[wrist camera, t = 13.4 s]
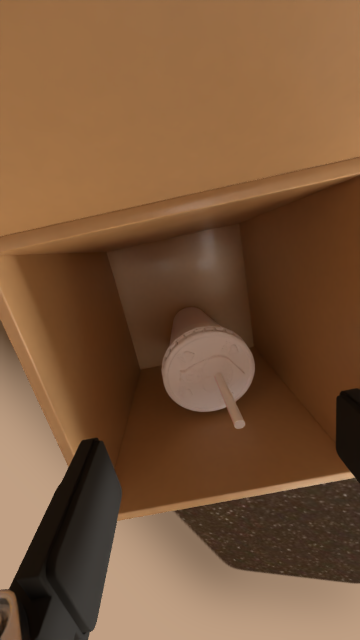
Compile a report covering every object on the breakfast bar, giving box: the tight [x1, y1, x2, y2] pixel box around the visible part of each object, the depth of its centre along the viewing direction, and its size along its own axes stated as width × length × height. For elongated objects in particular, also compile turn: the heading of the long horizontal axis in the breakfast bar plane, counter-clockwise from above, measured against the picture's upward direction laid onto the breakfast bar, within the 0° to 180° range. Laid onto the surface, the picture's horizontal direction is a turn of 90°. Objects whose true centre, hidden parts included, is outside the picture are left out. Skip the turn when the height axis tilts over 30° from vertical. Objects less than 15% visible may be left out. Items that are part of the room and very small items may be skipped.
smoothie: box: [161, 307, 255, 429], centre depth 18 cm, size 6×6×14 cm
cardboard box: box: [0, 157, 360, 521], centre depth 17 cm, size 14×14×16 cm
